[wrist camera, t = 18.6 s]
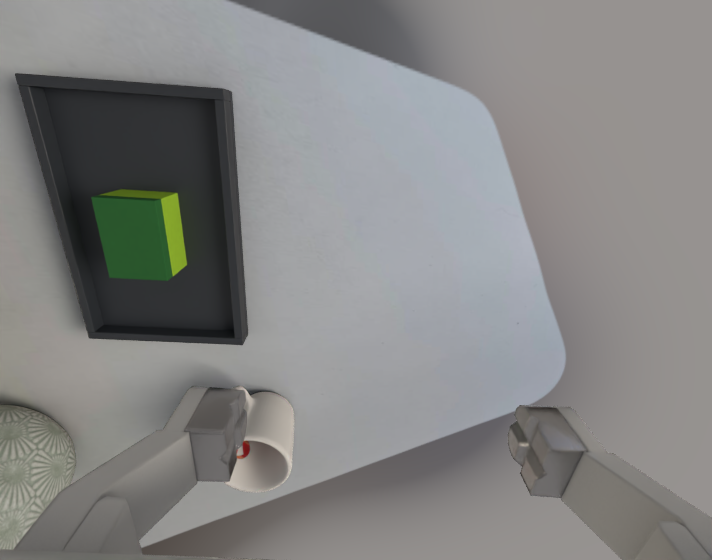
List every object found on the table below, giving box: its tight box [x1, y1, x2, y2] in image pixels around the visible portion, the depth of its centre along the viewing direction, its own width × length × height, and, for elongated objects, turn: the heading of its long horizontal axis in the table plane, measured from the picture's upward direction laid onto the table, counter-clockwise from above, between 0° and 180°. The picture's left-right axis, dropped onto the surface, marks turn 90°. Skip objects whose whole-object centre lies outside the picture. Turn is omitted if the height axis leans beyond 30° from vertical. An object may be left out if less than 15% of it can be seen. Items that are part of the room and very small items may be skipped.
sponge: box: [91, 189, 187, 281], centre depth 31 cm, size 7×5×4 cm
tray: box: [15, 73, 248, 345], centre depth 32 cm, size 24×16×2 cm, turn 176°
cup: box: [224, 386, 294, 492], centre depth 38 cm, size 11×8×8 cm
